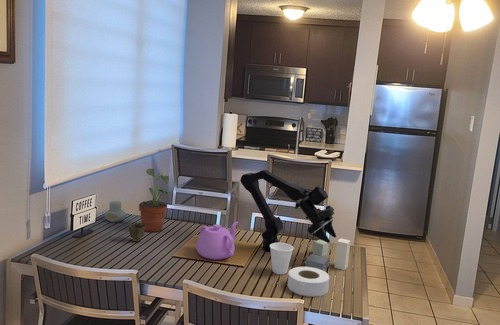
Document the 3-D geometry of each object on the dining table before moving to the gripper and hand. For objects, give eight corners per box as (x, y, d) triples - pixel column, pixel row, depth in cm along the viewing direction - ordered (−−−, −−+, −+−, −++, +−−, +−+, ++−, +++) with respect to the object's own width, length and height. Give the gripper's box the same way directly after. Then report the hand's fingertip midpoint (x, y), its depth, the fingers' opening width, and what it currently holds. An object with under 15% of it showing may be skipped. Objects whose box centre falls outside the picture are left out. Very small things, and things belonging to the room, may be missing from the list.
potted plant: (165, 235, 220) (168, 165, 215) (134, 232, 220) (137, 163, 215) (171, 225, 235) (174, 160, 230) (142, 223, 235) (145, 158, 230)
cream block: (334, 267, 193) (337, 241, 192) (337, 264, 198) (340, 238, 196) (344, 270, 191) (347, 243, 190) (347, 266, 196) (350, 240, 194)
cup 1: (125, 242, 206) (125, 225, 205) (134, 237, 213) (135, 221, 212) (138, 245, 204) (138, 228, 202) (147, 240, 211) (148, 224, 209)
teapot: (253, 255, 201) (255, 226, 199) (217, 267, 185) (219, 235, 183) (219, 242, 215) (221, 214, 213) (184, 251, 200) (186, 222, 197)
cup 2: (275, 278, 178) (277, 251, 176) (263, 268, 187) (265, 243, 185) (296, 274, 183) (298, 249, 181) (283, 265, 191) (285, 241, 189)
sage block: (321, 257, 205) (323, 244, 204) (312, 253, 208) (313, 241, 208) (327, 254, 209) (328, 242, 208) (318, 251, 212) (319, 239, 211)
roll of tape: (282, 291, 167) (283, 277, 166) (293, 276, 182) (294, 263, 181) (323, 300, 162) (325, 286, 161) (331, 284, 176) (332, 271, 175)
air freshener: (101, 221, 234) (102, 203, 233) (109, 217, 242) (109, 199, 241) (121, 224, 233) (121, 205, 231) (128, 219, 241) (128, 201, 239)
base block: (304, 268, 191) (305, 259, 191) (311, 262, 198) (312, 254, 198) (322, 272, 187) (323, 263, 187) (328, 266, 195) (329, 258, 194)
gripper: (317, 204, 187) (340, 235, 183) (330, 196, 203) (351, 224, 200) (298, 219, 191) (320, 249, 188) (312, 210, 208) (333, 238, 205)
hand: (332, 239), depth 195 cm, fingers open, 9 cm apart
